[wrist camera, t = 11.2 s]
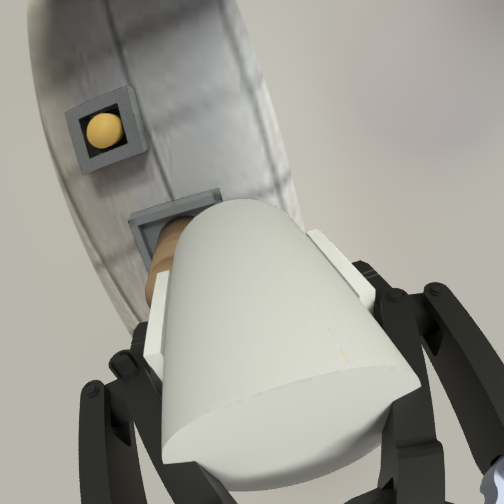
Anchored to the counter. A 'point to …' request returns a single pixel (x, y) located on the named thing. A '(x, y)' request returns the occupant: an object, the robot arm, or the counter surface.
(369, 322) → the white stubby cylinder
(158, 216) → the grey divided tray
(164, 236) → the ball
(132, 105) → the grey square holder
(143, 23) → the counter surface
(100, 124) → the button
